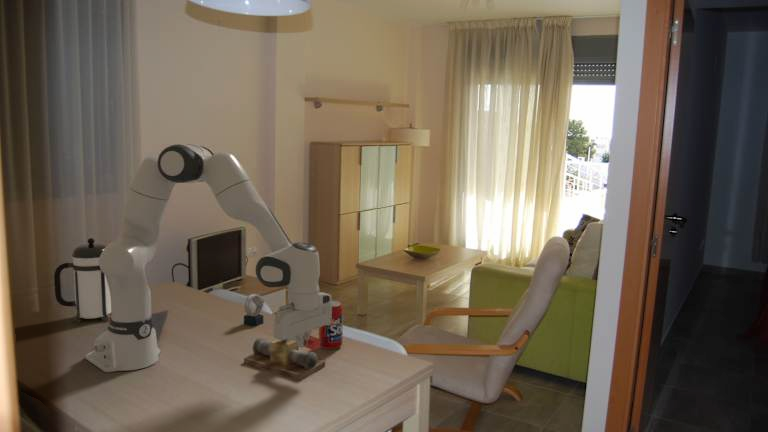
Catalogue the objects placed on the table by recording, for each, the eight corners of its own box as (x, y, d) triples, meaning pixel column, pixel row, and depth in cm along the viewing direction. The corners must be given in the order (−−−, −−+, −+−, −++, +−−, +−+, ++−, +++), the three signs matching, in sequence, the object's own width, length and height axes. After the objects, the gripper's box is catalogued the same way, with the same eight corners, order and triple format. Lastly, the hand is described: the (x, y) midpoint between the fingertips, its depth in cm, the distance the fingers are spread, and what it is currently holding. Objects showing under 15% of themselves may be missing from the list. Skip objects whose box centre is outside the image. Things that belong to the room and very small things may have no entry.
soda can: (322, 341, 196) (323, 298, 194) (344, 343, 195) (345, 300, 192) (315, 349, 189) (316, 305, 186) (338, 352, 187) (339, 307, 185)
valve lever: (277, 336, 174) (277, 328, 174) (285, 334, 177) (285, 326, 176) (312, 350, 165) (313, 341, 164) (320, 347, 167) (321, 338, 167)
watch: (266, 321, 213) (266, 293, 212) (252, 328, 206) (252, 298, 205) (254, 319, 216) (254, 290, 214) (240, 325, 209) (240, 296, 207)
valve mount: (243, 362, 176) (243, 334, 175) (270, 350, 186) (270, 323, 185) (300, 380, 165) (300, 350, 164) (325, 366, 176) (325, 338, 174)
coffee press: (102, 308, 223) (98, 232, 218) (125, 317, 213) (121, 238, 209) (55, 319, 209) (50, 238, 204) (77, 329, 200) (73, 245, 195)
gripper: (284, 310, 154) (283, 359, 156) (335, 294, 170) (334, 339, 172) (268, 305, 157) (268, 353, 159) (320, 290, 173) (319, 334, 176)
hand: (303, 346), depth 166 cm, fingers closed
